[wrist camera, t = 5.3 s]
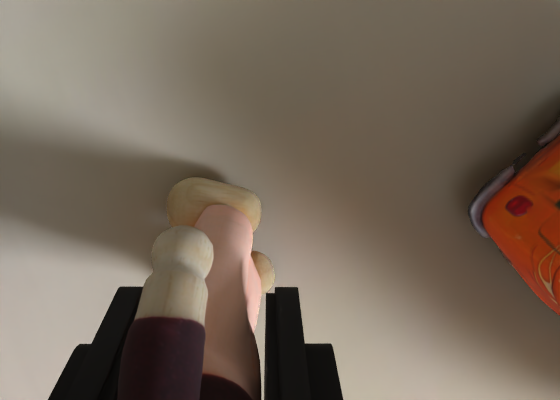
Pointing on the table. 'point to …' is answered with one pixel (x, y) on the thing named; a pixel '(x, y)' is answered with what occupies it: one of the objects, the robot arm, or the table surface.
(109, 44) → the table surface
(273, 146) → the table surface
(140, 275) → the table surface
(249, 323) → the grandmother figurine
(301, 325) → the robot arm
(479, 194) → the toy bus
